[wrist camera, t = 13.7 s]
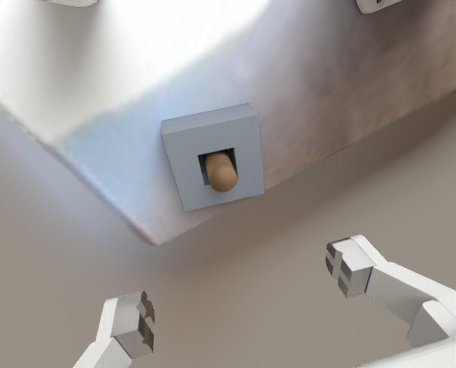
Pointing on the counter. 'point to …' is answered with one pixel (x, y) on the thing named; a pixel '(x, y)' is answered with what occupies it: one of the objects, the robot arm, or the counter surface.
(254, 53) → the counter surface
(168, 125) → the socket block
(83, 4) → the cylindrical container
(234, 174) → the walnut peg
